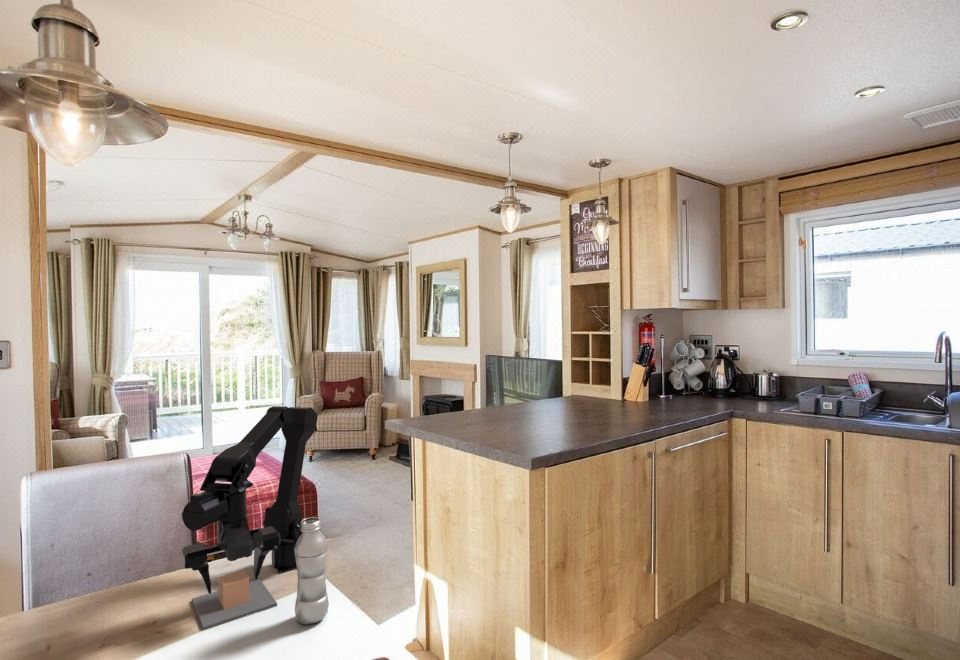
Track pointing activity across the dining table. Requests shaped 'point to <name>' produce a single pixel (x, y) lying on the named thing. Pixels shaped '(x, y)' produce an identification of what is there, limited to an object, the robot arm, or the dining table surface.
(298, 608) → the plastic bottle
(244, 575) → the peach block
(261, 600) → the charcoal mat
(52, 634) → the dining table surface
